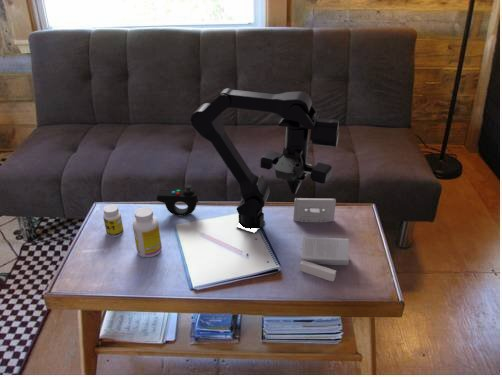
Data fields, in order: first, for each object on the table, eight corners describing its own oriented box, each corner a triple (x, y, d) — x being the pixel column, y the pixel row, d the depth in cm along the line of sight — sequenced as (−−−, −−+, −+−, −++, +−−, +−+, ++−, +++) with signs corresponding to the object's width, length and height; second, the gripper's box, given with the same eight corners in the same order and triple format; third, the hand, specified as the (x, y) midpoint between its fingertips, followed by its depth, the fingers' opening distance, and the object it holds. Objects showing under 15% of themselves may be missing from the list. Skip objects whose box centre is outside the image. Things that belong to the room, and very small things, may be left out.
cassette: (333, 219, 139) (335, 197, 135) (334, 222, 138) (336, 201, 134) (293, 218, 140) (294, 197, 136) (293, 222, 138) (294, 200, 134)
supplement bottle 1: (103, 235, 133) (98, 210, 129) (113, 226, 137) (108, 202, 132) (117, 238, 132) (112, 214, 127) (127, 229, 135) (122, 205, 131)
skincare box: (301, 263, 123) (348, 266, 120) (300, 258, 119) (348, 261, 117) (303, 241, 125) (348, 244, 123) (302, 236, 121) (349, 238, 119)
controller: (198, 218, 140) (196, 190, 135) (157, 218, 140) (154, 190, 135) (200, 210, 144) (198, 182, 138) (160, 210, 144) (156, 182, 138)
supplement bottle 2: (166, 246, 128) (161, 208, 122) (152, 261, 123) (146, 221, 117) (146, 240, 131) (140, 202, 124) (132, 254, 126) (125, 215, 119)
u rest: (299, 270, 120) (300, 263, 119) (315, 246, 128) (316, 239, 127) (333, 281, 116) (334, 274, 115) (347, 256, 125) (348, 249, 123)
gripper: (249, 146, 117) (250, 198, 125) (319, 163, 109) (314, 218, 117) (269, 130, 125) (268, 180, 133) (335, 145, 117) (330, 197, 126)
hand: (294, 193), depth 127 cm, fingers closed
